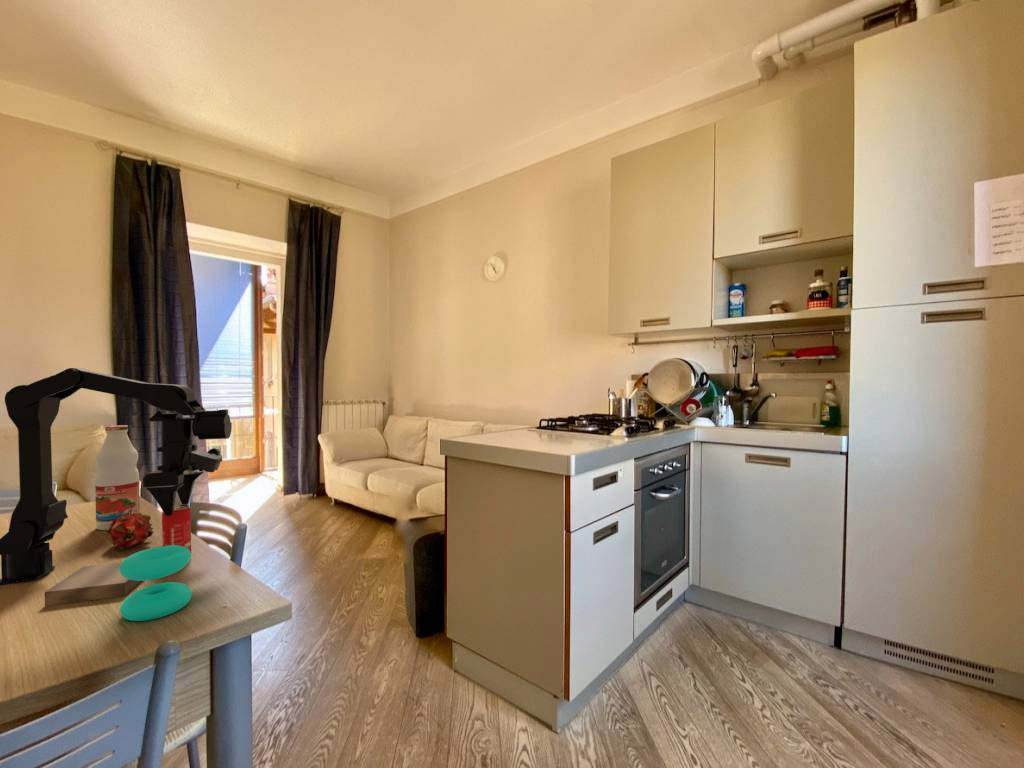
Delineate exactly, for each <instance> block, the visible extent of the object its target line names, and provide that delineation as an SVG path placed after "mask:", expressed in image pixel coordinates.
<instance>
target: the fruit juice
mask: <svg viewBox="0 0 1024 768" xmlns="http://www.w3.org/2000/svg"><path fill="white" fill-rule="evenodd" d="M104 431H105V433H106V436H105V439H104V442H103V444H102V446H101V448H100V450H99V451H98V452H97V454H96V455H95V464H96V467H97V472H96V474H95V480H94V487H95V492H94V493H95V494H94V495H95V496H94V497H95V526H96V529H97V530H99V531H108V530H109V528H110V524H111V523H112V522H113V521H114V520H115V519H119V518H121V517H122V515H123V514H125V513H130V514H132V513H135V512H140V513H141V509H140V508H141V501H140V500H141V499H140V497H141V496H140V473H139V472H140V471H139V469H138V467H137V463H138V460H139V452H138V450H137V449H136V448H135V447H134V446H133V444H132V442H131V440H130V438H129V436H128V432H129V426H128V425H126V424H122V425H121V424H120V425H119V424H118V425H117V424H116V425H108V426H105V429H104Z"/></svg>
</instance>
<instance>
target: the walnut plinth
mask: <svg viewBox="0 0 1024 768" xmlns="http://www.w3.org/2000/svg"><path fill="white" fill-rule="evenodd" d="M122 562H123V561H122ZM122 562H114V563H113V562H112V563H103V564H102V563H101V564H95V565H94V564H93V565H83V566H82V567H81V568H79V569H77V570H76V571H75V572H73V573H71V574H70V575H68V576H66V577H64V579H62V580H61V581H59V582H57V583H55V585H53V586H52V587H50V588H49V589H47V590H45V591H44V606H45V607H46V606H55V605H64V604H70V603H79V602H86V601H93V600H94V601H95V600H103V599H112V598H117V597H118V598H119V597H125V596H127V595H128V594H129V593H130V592H131V591H132V590H133V589H135V588H136V587H137V586H138V585H140V583H141V582H142V581H136V580H130V579H127V578H125V577H123V576H122V575H121V573H120V570H119V568H120V565H121V563H122Z"/></svg>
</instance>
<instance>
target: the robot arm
mask: <svg viewBox="0 0 1024 768" xmlns="http://www.w3.org/2000/svg"><path fill="white" fill-rule="evenodd" d="M81 389H84V390H85V389H86V390H90V391H95V392H100V393H104V394H109V395H115V396H121V397H126V398H129V399H130V398H131V399H134V400H139V401H141V402H144V403H146V404H147V405H150V406H152V407H155V408H157V409H159V410H157V411H156V412H155V413H154V414H153V415H152V416H150V417H149V418H148V421H149V422H160V446H157V448H156V453H160V464H159V465H157V469H156V470H153V471H150V472H148V473H147V474H145V476H143V477H142V488H146V491H149V493H150V494H151V495H152V496H153V499H155V501H156V503H157V504H158V506H159V507H160V509H161V510H162V512H164V513H165V515H166V516H171V515H173V510H174V505H176V504H175V503H176V498H177V497H176V495H178V498H179V500H180V501H179V502H180V504H181V505H182V504H186V505H189V504H190V503H189V502H190V498H191V496H192V492H193V489H194V485H195V483H196V480H198V478H200V477H201V476H202V475H203V474H204V473H205V472H206V473H215V471H218V469H219V467H220V465H221V463H222V462H223V455H222V454H221V450H220V449H219V448H215V447H212V448H210V449H208V451H206V450H199V449H198V445H197V444H196V442H193V436H194V437H197V439H198V440H200V441H202V440H223V439H224V440H226V439H227V440H228V439H229V438H230V437H231V435H232V427H233V425H232V422H231V417H230V414H229V409H227V408H225V409H218V410H217V409H214V410H206V409H205V407H203V406H202V405H201V403H200V402H199V401H198V400H197V399H196V395H195V391H194V390H193V388H191V387H190V386H188V385H185V384H172V383H151V382H145V381H141V380H136V379H130V378H126V377H121V376H116V375H111V374H105V373H101V372H96V371H91V370H89V369H87V368H82V367H81V368H79V367H70V368H66V369H64V370H62V371H60V372H58V373H56V374H53V375H50V376H49V377H44V378H42V379H39V380H36V381H34V382H31V383H30V384H22V385H15V386H14V387H12V388H11V389H10V390H8V391H6V393H5V394H4V395H5V396H4V404H5V409H6V412H7V416H8V418H9V419H10V420H11V422H12V423H13V424H14V425H15V427H16V429H17V438H18V439H17V441H18V442H17V443H18V447H17V448H18V475H19V476H18V477H19V500H18V502H17V504H16V505H15V507H14V509H13V511H12V513H11V516H10V521H9V527H8V532H6V533H5V534H4V535H3V536H2V537H0V563H1V564H0V565H1V566H0V567H1V569H0V570H1V572H0V573H1V578H0V585H4V584H12V583H21V582H31V581H37V580H38V579H40V578H41V577H43V576H44V575H46V574H48V573H50V572H51V571H53V570H54V569H55V568H56V566H55V565H53V550H52V549H50V542H49V541H51V540H52V539H54V536H55V534H56V532H57V531H58V530H60V529H61V528H62V527H63V526H64V523H65V520H66V519H68V518H69V516H68V514H67V501H68V500H67V499H62V500H58V499H57V497H56V495H55V494H54V492H53V460H52V429H51V428H52V425H53V423H54V421H55V420H56V417H57V416H58V414H59V409H60V405H61V401H63V400H65V399H67V398H69V397H71V396H72V395H74V394H75V393H77V392H78V391H79V390H81ZM165 411H166V412H165ZM167 411H168V412H167ZM169 412H171V413H169ZM173 412H175V413H173ZM187 416H188V417H187Z"/></svg>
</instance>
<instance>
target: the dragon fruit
mask: <svg viewBox="0 0 1024 768" xmlns="http://www.w3.org/2000/svg"><path fill="white" fill-rule="evenodd" d="M150 520H151V516H150V515H149V514H143V513H142V512H141V511H140V512H135V513H132V514H130V513H125V514H123V515H122V517H121V518H119V519H115V520H114V521H113V522H112V523H111V524H110V528H109V530H107V532H106V537H107V538H108V539H110V541H111V543H112V544H113V546H115V545H116V547H117V548H119V550H126V549H129V548H131V547H132V546H133V545H135V546H136V545H141V544H143V543H145V541H146V540H148V538H150V537H152V535H153V534H154V533H155V531H154V530H153V529H154V527H153V524H152V523H151V522H150Z"/></svg>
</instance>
